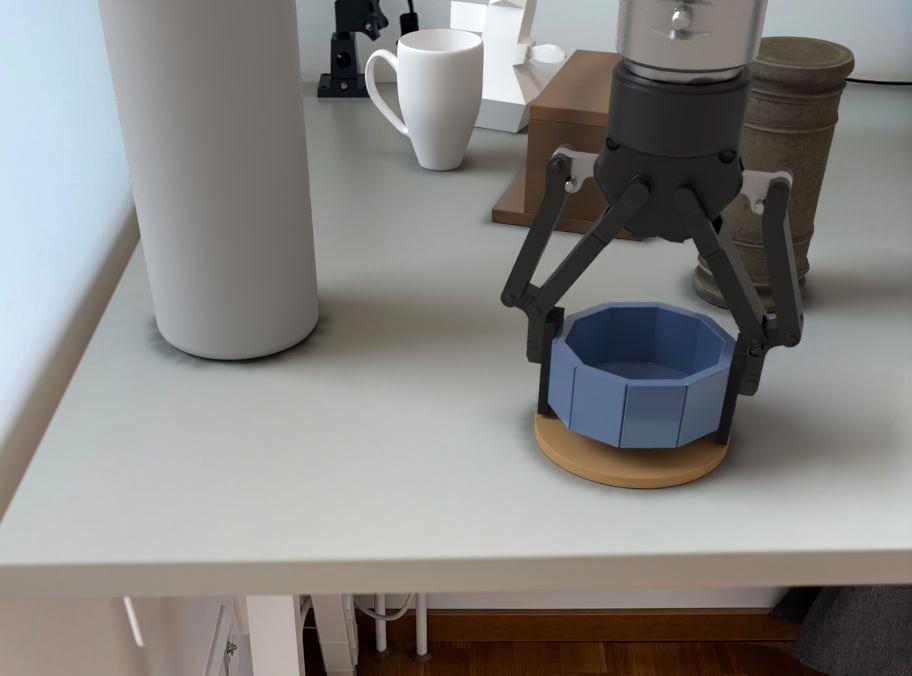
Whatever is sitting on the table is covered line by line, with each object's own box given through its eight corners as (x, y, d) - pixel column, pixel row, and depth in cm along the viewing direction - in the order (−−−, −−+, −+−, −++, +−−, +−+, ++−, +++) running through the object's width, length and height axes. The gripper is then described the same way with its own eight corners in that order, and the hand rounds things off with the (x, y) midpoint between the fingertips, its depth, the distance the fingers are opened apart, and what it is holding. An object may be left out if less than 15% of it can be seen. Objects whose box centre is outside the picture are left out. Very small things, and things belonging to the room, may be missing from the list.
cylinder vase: (308, 366, 80) (275, -22, 63) (141, 362, 81) (64, -24, 64) (329, 291, 90) (304, -65, 73) (179, 288, 90) (120, -67, 73)
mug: (491, 155, 113) (495, 33, 106) (465, 182, 108) (467, 55, 100) (384, 141, 116) (381, 21, 109) (353, 167, 111) (347, 43, 103)
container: (823, 289, 90) (884, 49, 78) (764, 325, 85) (820, 75, 73) (730, 257, 95) (775, 26, 82) (669, 289, 90) (707, 49, 78)
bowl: (731, 378, 75) (744, 313, 72) (708, 468, 67) (721, 399, 64) (572, 354, 78) (578, 290, 74) (531, 439, 70) (536, 371, 66)
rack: (673, 172, 110) (690, 59, 103) (641, 241, 97) (658, 117, 90) (539, 156, 113) (546, 46, 106) (491, 221, 100) (495, 101, 93)
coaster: (738, 402, 77) (740, 392, 76) (714, 504, 68) (716, 494, 67) (558, 373, 80) (559, 363, 79) (512, 467, 71) (512, 457, 70)
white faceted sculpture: (544, 141, 116) (554, -5, 107) (427, 122, 121) (427, -20, 112) (572, 118, 122) (584, -23, 113) (459, 100, 127) (461, -36, 117)
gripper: (452, 61, 58) (449, 418, 73) (916, 104, 53) (810, 480, 68) (491, 26, 63) (480, 366, 78) (916, 62, 58) (818, 420, 73)
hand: (633, 419), depth 73 cm, fingers closed on bowl, 11 cm apart
